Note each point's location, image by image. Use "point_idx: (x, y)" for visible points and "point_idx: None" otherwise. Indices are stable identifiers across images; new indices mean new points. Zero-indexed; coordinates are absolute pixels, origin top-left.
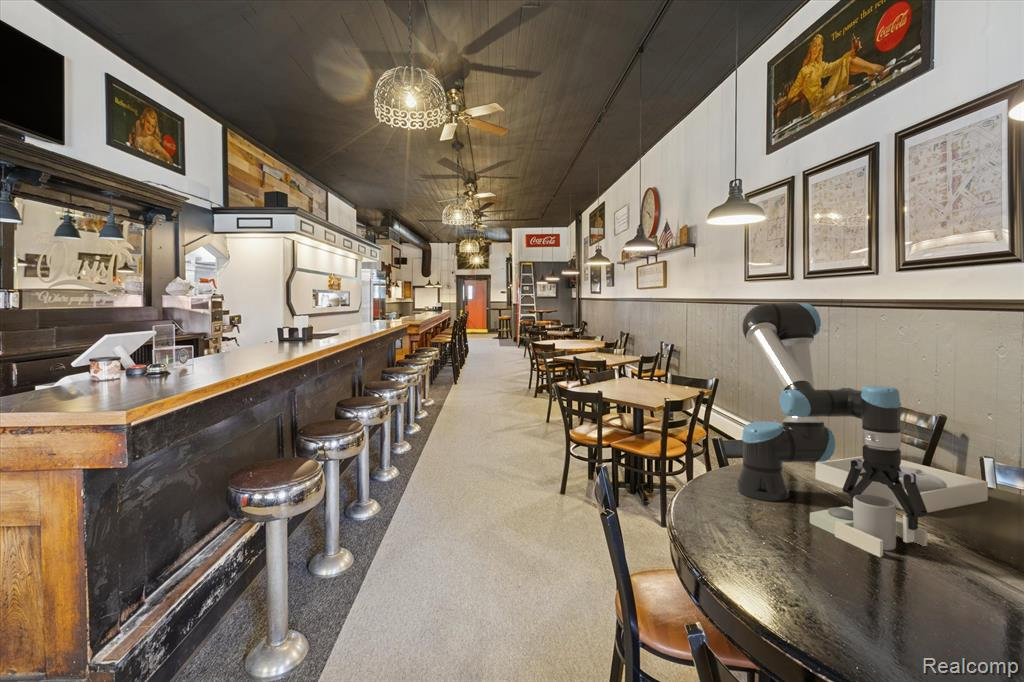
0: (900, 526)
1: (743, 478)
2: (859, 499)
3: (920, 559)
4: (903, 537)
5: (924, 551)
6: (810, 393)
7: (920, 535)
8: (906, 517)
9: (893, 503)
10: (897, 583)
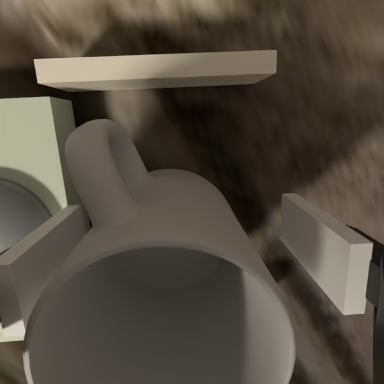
0: (164, 81)
1: None
2: (51, 339)
3: (304, 197)
4: (288, 247)
5: (274, 121)
6: None
7: (250, 77)
8: (359, 307)
9: (246, 270)
10: (353, 376)
